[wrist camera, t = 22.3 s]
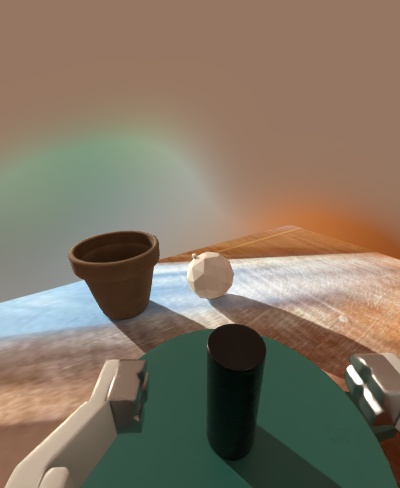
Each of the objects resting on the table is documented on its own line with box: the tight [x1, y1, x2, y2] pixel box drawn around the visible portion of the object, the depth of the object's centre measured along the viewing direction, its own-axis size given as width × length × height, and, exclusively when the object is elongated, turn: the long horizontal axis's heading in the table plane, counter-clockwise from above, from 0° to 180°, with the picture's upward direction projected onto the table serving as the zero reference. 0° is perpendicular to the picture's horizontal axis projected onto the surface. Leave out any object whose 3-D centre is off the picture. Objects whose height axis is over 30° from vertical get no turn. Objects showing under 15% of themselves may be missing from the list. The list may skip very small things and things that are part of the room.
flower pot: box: [69, 231, 160, 319], centre depth 34 cm, size 12×11×10 cm
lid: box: [81, 324, 399, 488], centre depth 11 cm, size 15×15×7 cm
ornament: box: [187, 252, 234, 299], centre depth 37 cm, size 7×7×8 cm
